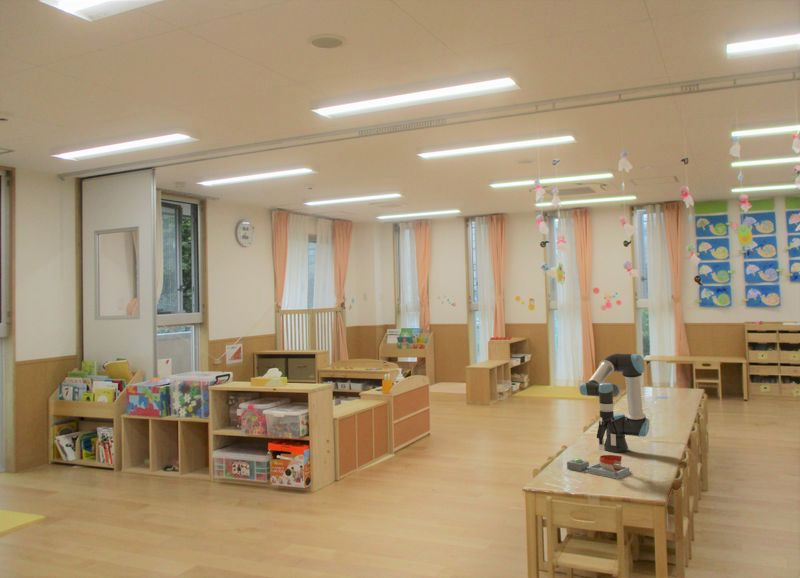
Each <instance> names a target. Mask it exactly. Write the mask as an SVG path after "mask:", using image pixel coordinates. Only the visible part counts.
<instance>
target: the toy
mask: <svg viewBox="0 0 800 578" xmlns="http://www.w3.org/2000/svg"><path fill="white" fill-rule="evenodd" d="M622 457H623V456H622V455H615V454H603V455H600V457H599V462H600V466H602V469H601V470H606V471H612V472H614V470H618V471H620V470H622V469H621V466H622V465H621V464H622Z"/></svg>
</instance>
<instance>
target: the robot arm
mask: <svg viewBox="0 0 800 578" xmlns="http://www.w3.org/2000/svg"><path fill="white" fill-rule="evenodd" d="M645 367H646V366H645V361H644V358H643V357H642V356H641V354H637V353H612V354H610V355H607V356H606V357H604V358H603V359H602V360H601V361H600V362H599V364H598V368H597V369H596V370H595V372H594V373H593V374H592V375H591V377H590V378H589V380H588V381H587V382H581V383H580V385H579V392H580V394H581V396H587V397H598V401H599V404H598V405H599V417H600V418H601V420H598V428H597V432H596V433H597V434H596V439H598V449H599V451H602V452H603V451H606V452H611V453H627V452H628V451H629V445H628V443H627V440H626V436H632V437H640V438H641V437H642V438H644V437H647V435H648V433H649V430H650V419H649V418H647V415H646V413H644V411H643V409H644V408H643V399H642V389H641V376H642V375H643V373H644V372H645ZM615 372H616V373H617V372H618V373H621V374H622V377H624V379H625V388H626V400H627V401H626V402H627V411H628V413H627V414H626V415H625V414H624V413H614V398H616V397H618V396H619V394H620V393H621V388H620V386H619V385H618V384H616V383H611V382H605V381H606V380H607V378H608V377H609V376H610V375H612V374H613V373H615ZM605 435H606V436H605ZM604 436H605V437H606V438H605V437H604ZM604 438H605V439H604Z"/></svg>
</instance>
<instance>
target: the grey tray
mask: <svg viewBox="0 0 800 578" xmlns="http://www.w3.org/2000/svg"><path fill="white" fill-rule="evenodd" d="M601 469H602V466H600V461H599V462H597V463H595V464H592V465H589V467H587V469H586V470H584V473H585V474H590V475H596V476H597V475H598V476H602V477H606V478H612V479H616V480H619V479H622V478H623V477H626V476H628V475H630V474H632V471H631V470H630V467H629V466H628V467H627V466H624V465H623V466H622V465H621V469H622V470H620V471H618V470H614V472H612V471H606V470H601Z"/></svg>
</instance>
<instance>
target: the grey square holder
mask: <svg viewBox="0 0 800 578" xmlns="http://www.w3.org/2000/svg"><path fill="white" fill-rule="evenodd" d="M589 466H590V461H588V460H582V463H575V462H574V459H572V460H568V461H567V462H566V467H567V468H566V469H567V470H572V471H576V472H585V470H587V467H589Z"/></svg>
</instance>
